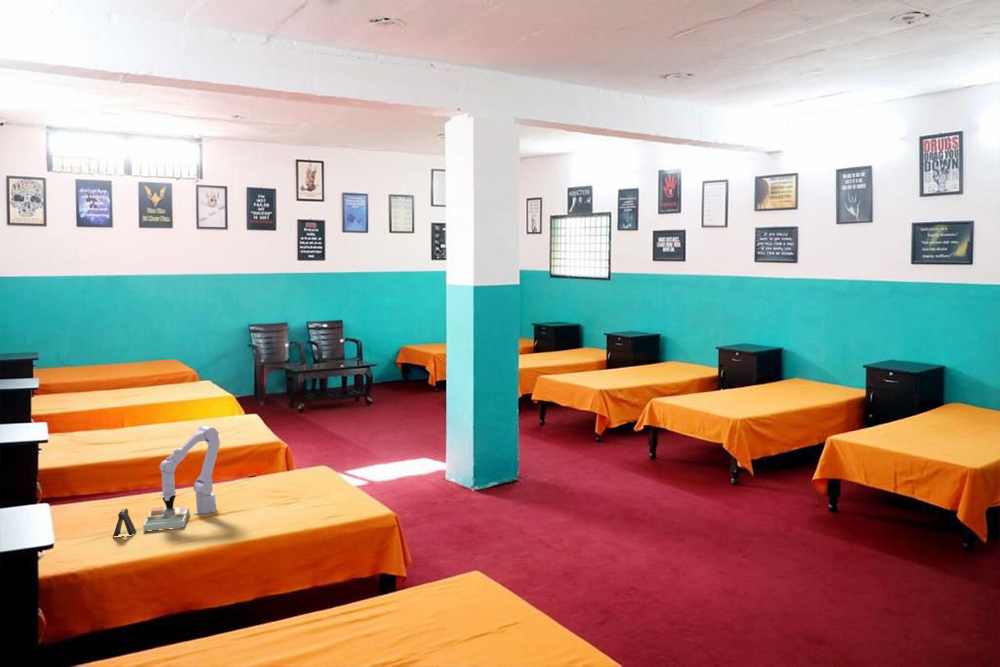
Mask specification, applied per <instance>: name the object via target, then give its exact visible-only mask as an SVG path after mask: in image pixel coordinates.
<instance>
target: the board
mask: <svg viewBox="0 0 1000 667" xmlns="http://www.w3.org/2000/svg"><path fill="white" fill-rule="evenodd" d="M174 508H175V514H174V515H170V516H163V513H162V514H158V515H151V510H150V511H149V512H148V514H147V516H146V519H148V520H157V519H167V518H178V517H184V515H186V522H187V521H188V519H189V516H190V506H181V507H174ZM164 509H165V508H163V511H164ZM187 518H188V519H187Z"/></svg>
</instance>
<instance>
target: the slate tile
mask: <svg viewBox="0 0 1000 667" xmlns="http://www.w3.org/2000/svg"><path fill="white" fill-rule="evenodd" d="M175 508H176V507H173V509H167V508H163V509H164V511H163V516H170V515H174V514H175Z"/></svg>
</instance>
